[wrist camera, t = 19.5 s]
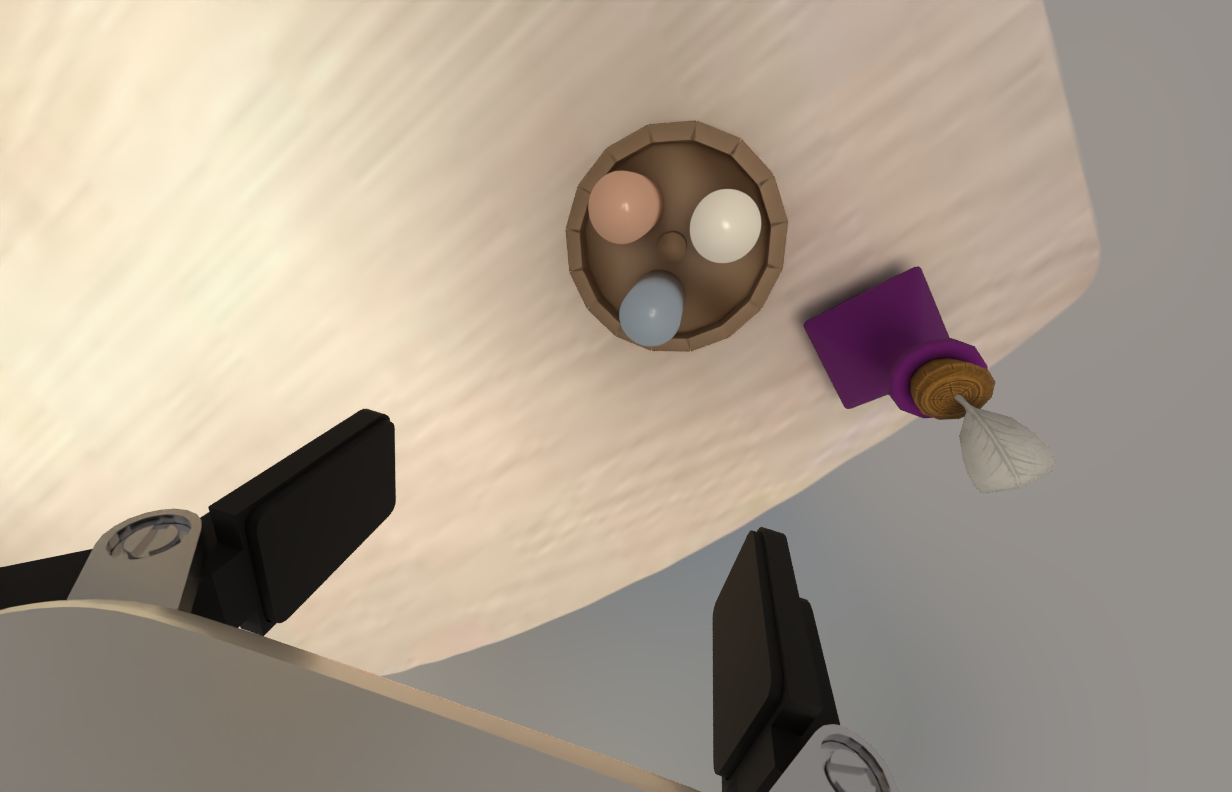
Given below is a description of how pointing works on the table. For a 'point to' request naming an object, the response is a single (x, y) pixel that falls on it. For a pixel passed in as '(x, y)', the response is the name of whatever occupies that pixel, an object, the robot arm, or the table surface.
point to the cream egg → (725, 225)
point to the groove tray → (680, 232)
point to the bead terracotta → (625, 206)
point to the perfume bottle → (924, 376)
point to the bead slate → (653, 308)
